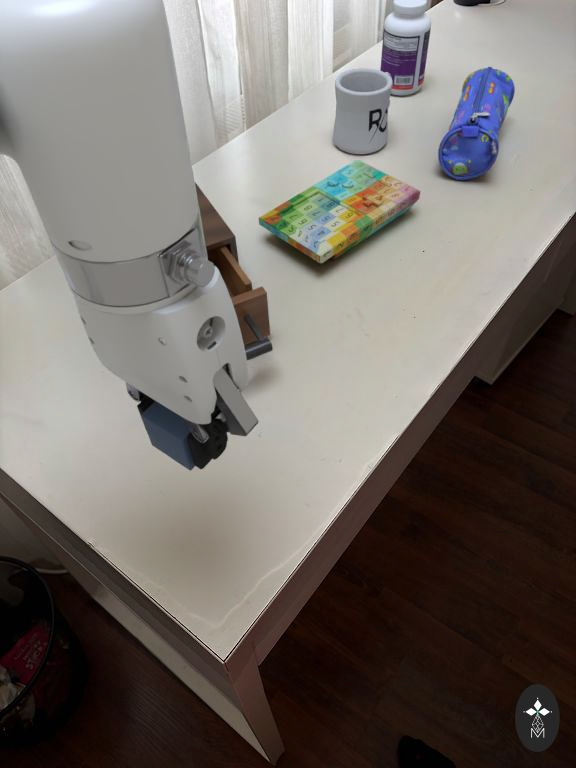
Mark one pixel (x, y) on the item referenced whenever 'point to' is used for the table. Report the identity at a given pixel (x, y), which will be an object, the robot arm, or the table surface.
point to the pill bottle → (406, 45)
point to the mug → (362, 110)
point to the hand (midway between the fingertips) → (187, 437)
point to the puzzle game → (340, 211)
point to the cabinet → (215, 226)
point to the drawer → (244, 302)
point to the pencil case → (476, 124)
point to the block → (168, 433)
